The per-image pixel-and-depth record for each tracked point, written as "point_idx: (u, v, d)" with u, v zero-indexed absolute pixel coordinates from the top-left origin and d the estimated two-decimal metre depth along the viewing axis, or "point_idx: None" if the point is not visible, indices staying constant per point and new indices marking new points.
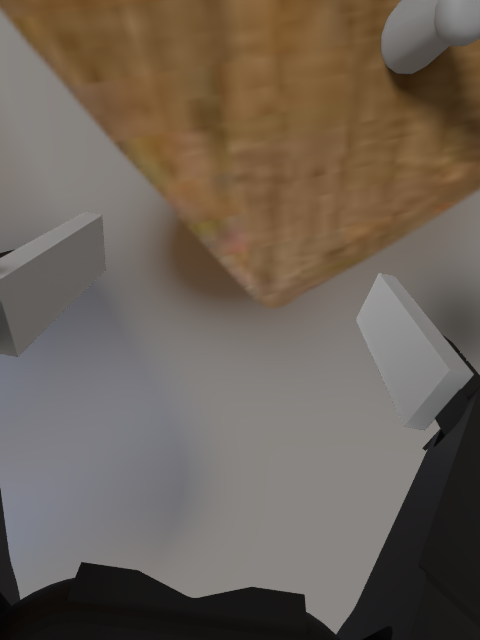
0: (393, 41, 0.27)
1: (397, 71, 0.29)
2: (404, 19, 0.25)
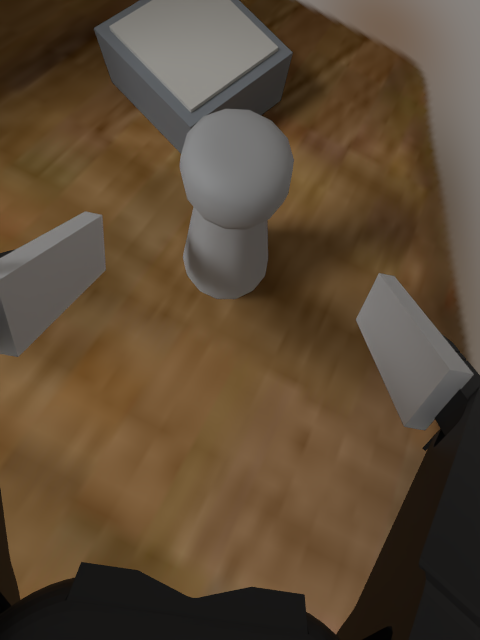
0: (214, 283, 0.19)
1: (250, 290, 0.20)
2: (199, 263, 0.17)
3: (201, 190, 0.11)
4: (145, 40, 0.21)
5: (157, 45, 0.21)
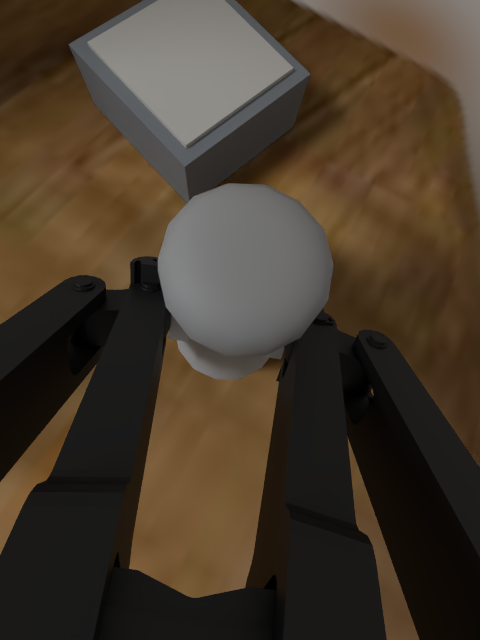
0: (211, 370, 0.15)
1: (257, 369, 0.16)
2: (192, 350, 0.13)
3: (189, 321, 0.07)
4: (131, 60, 0.17)
5: (146, 65, 0.17)
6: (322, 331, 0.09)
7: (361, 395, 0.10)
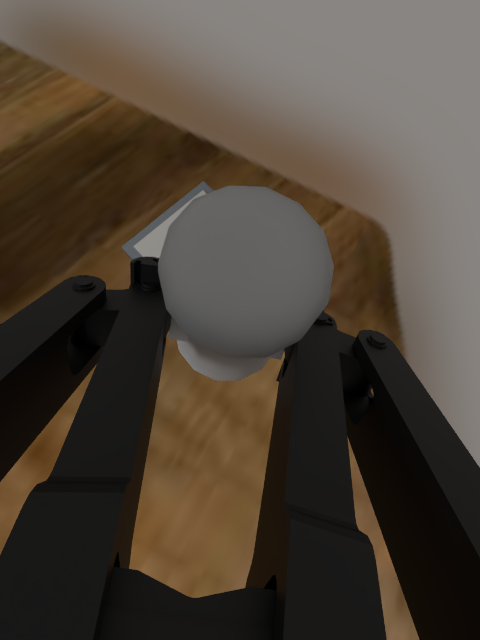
0: (211, 371, 0.15)
1: (257, 370, 0.16)
2: (192, 352, 0.13)
3: (189, 323, 0.07)
4: None
5: None
6: (322, 331, 0.09)
7: (361, 395, 0.10)
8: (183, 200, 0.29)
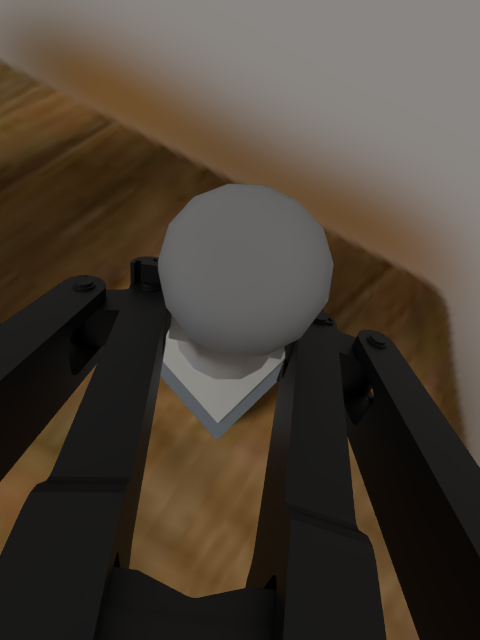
0: (211, 370, 0.15)
1: (257, 369, 0.16)
2: (192, 351, 0.13)
3: (189, 321, 0.07)
4: (171, 343, 0.21)
5: None
6: (322, 331, 0.09)
7: (361, 395, 0.10)
8: None
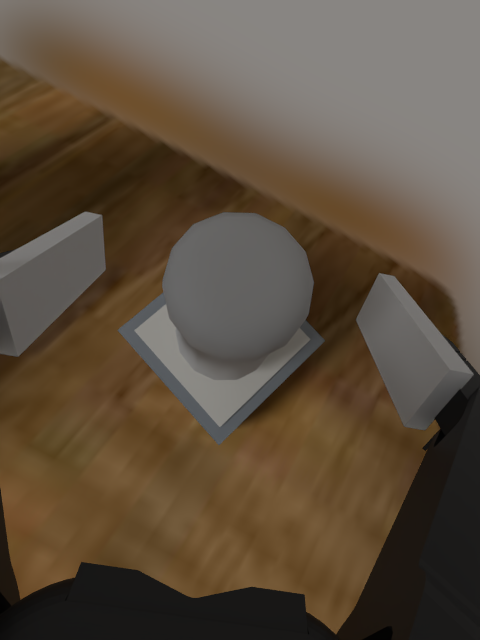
0: (210, 371, 0.16)
1: None
2: (192, 354, 0.15)
3: (189, 332, 0.08)
4: (172, 345, 0.20)
5: None
6: None
7: None
8: None
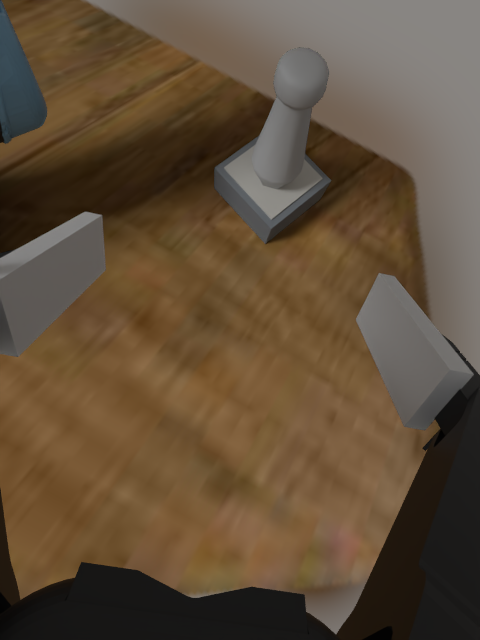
0: (273, 166, 0.31)
1: (293, 177, 0.33)
2: (267, 149, 0.30)
3: (287, 82, 0.23)
4: (245, 176, 0.36)
5: (251, 178, 0.36)
6: None
7: None
8: None
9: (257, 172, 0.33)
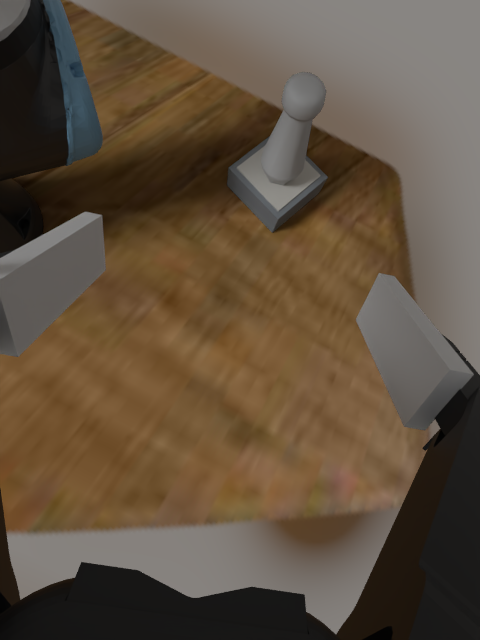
0: (280, 166, 0.38)
1: (296, 175, 0.39)
2: (275, 152, 0.36)
3: (293, 100, 0.30)
4: (254, 174, 0.42)
5: (260, 176, 0.42)
6: None
7: None
8: (267, 140, 0.43)
9: (266, 171, 0.40)
